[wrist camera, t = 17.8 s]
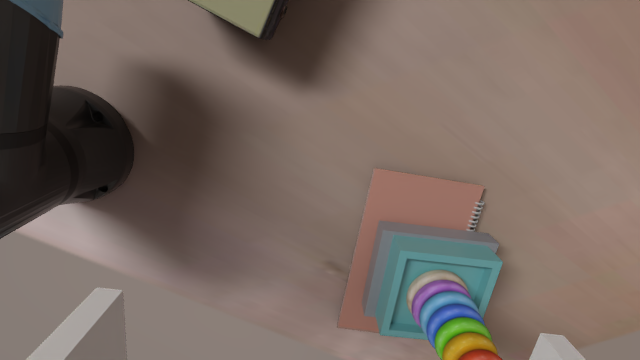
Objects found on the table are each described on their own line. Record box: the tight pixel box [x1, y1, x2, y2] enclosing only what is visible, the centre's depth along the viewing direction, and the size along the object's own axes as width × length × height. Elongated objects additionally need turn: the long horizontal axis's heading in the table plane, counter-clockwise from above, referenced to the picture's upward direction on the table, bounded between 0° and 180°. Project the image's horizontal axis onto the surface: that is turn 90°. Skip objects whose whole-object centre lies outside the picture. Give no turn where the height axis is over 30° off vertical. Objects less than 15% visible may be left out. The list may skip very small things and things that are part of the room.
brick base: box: [362, 220, 503, 340], centre depth 47 cm, size 16×14×7 cm
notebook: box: [337, 168, 485, 333], centre depth 52 cm, size 27×17×2 cm, turn 170°
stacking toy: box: [406, 270, 502, 360], centre depth 36 cm, size 8×8×19 cm
